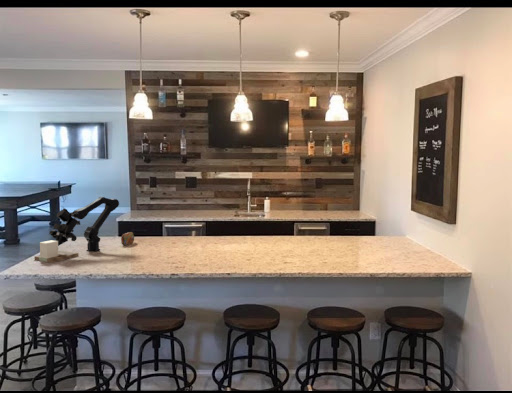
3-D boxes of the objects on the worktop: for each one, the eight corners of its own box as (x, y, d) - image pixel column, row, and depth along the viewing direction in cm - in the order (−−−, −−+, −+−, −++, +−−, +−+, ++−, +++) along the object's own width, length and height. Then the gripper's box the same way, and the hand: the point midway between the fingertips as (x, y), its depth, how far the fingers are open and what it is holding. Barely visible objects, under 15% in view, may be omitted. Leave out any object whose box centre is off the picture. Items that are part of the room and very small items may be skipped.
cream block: (51, 254, 268) (51, 240, 268) (58, 255, 266) (58, 241, 265) (40, 257, 261) (39, 242, 260) (47, 258, 259) (46, 243, 258)
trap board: (61, 253, 281) (61, 250, 281) (78, 256, 274) (78, 252, 274) (34, 259, 263) (34, 256, 263) (51, 262, 257) (51, 259, 257)
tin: (124, 246, 304) (124, 234, 303) (120, 246, 304) (120, 234, 304) (134, 242, 318) (134, 231, 318) (130, 242, 319) (130, 230, 318)
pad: (47, 258, 267) (47, 255, 267) (55, 259, 264) (55, 256, 264) (39, 260, 262) (38, 257, 261) (47, 261, 258) (46, 258, 258)
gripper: (51, 217, 274) (36, 237, 265) (72, 219, 266) (57, 240, 257) (62, 228, 282) (47, 248, 273) (82, 230, 274) (68, 251, 265)
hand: (55, 246), depth 267 cm, fingers closed, pressing on cream block
